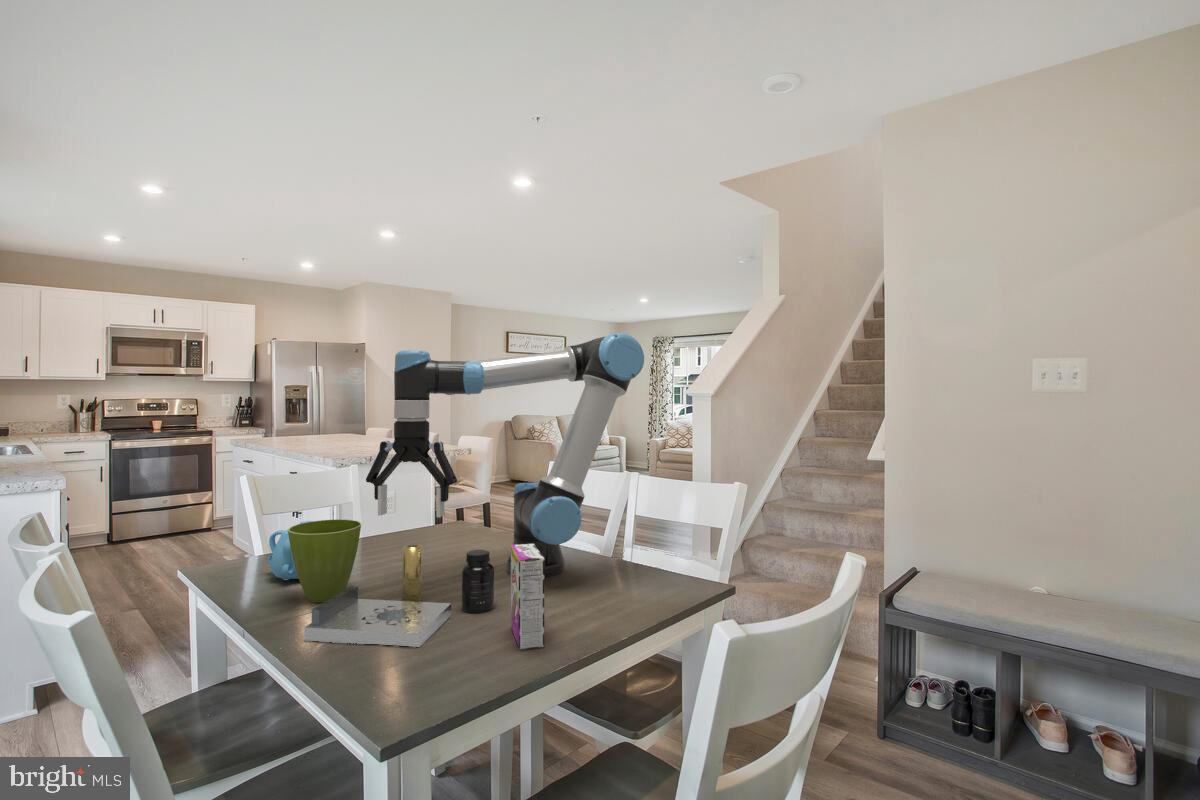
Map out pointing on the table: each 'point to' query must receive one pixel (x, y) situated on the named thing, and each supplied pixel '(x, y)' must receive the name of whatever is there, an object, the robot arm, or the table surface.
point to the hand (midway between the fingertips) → (411, 515)
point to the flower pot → (324, 556)
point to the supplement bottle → (477, 582)
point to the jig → (375, 620)
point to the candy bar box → (527, 596)
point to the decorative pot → (282, 556)
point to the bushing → (412, 572)
